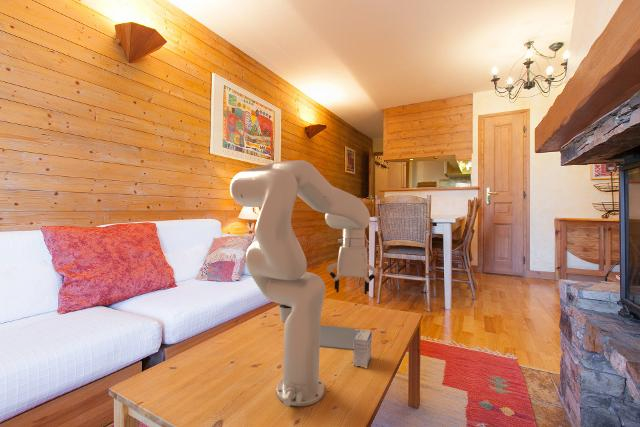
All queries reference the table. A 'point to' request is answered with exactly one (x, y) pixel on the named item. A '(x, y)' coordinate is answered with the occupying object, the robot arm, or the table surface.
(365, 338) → the medicine box
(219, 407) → the table surface
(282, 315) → the house plant
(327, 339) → the mat
